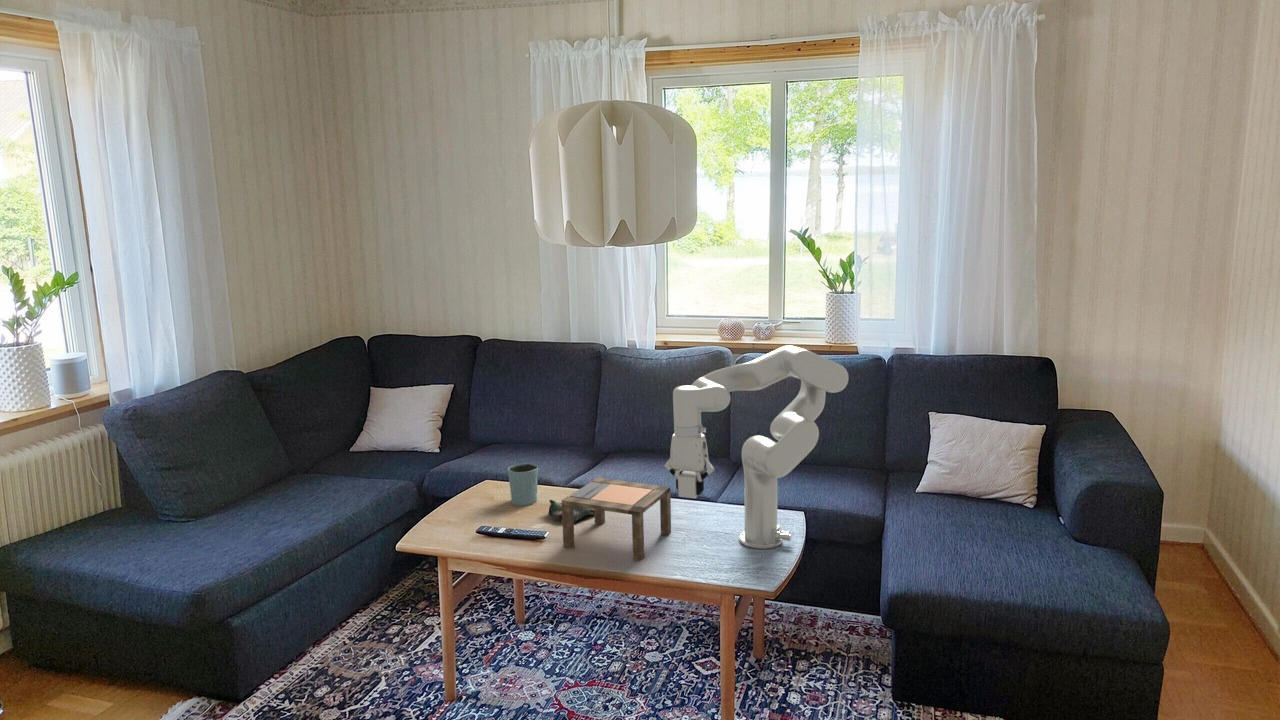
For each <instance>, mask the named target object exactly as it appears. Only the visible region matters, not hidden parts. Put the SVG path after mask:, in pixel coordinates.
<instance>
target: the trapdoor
mask: <svg viewBox="0 0 1280 720" xmlns="http://www.w3.org/2000/svg"><path fill="white" fill-rule="evenodd" d="M652 491H653V490H652V489H644V488H637V487H629V486H622V485H614V484H605V483H597V482H591V481H590V482H589V483H587V484H586V485H584V486H582V487H581V488H579V489H577V490H576V491H575V492H573V493H572V494H570V495H569V497H576V498H583V499H590V500H597V501H604V502H610V503H617V504H624V505H631V506H634V505H635V504H636V503H638V502H639V501H640V500H642V499H643V498H644V497H645V496H647V495H648V494H649V493H651V492H652ZM573 509H575V510H582V511H584V510H585V509H586V508H583V507H577V506H573Z"/></svg>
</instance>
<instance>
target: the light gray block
mask: <svg viewBox="0 0 1280 720" xmlns="http://www.w3.org/2000/svg"><path fill="white" fill-rule="evenodd" d="M696 482H697V476H696V473H695V471H685V470H683V472H682V473H681V474H680V475H679V476H678V490H677V493H678V497H680V498H687V499H688V498H689V499H696V498H698V496H699V495H697V493H696Z"/></svg>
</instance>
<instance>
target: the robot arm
mask: <svg viewBox="0 0 1280 720" xmlns="http://www.w3.org/2000/svg"><path fill="white" fill-rule="evenodd" d="M789 377H792V378H796V379H798V380H800V381H801V382H800V390H799V391H798V393H797V395H796V397H795V398H793V400H792V401H791V402H790V403H789V404H788V405H787V406H786V407H785V408H784V409H783V410H781V412H779V414H778V415H776V417H775V418H774V419H773V420H772V422H771V424H770V428H769V431H770V434H771V435H772V437H773V438H774V439H775V440H776V441H775V440H773V439H771V438H769V437H766V436H764V435H754V436H750V437H749V438H748V439H746V441H745V442H744V443H743V445H742V447H741V448H742V449H741V461H742V467H743V473H744V475H743V476H744V531H742V532H741V533H740V534H739V538H738V540H739V542H740V543H741V544H742V545H743V546H746V547H749V548H752V549H759V550H760V549H761V550H764V549H772V548H776V547H779V546H780V545H781V544H782V543H783V540H784V541H787V542H790V541H791V540H792V534H791V533H790V531H787V530H782V529H781V525H780V524H778V490H779V489H778V488H779V487H778V479H780V478H783V477H785V476H787V475H788V474H789V473H790V472H792V471H793V469H795V468H796V467H797V465H799V464H800V463H801V462H802V461H803V460H804V459H805V458H806V457H807V456H808V455H809V454H810V452H812V450H813V449H814V448H815V446H817V443H818V440H819V438H820V429H819V427H818V425H817V423H816V422H815V421H816V420H817V418H818V417H819V416H820V415H821V414H822V412H823V410H824V408H825V404H826V392H827V393H833V394H835V393H839V392H842V391H843V390H844V389H845V388H846V387H847V385H848V382H849V372H848V371H847V369H846V367H844V365H843V364H840V363H838V362H836V361H833V360H830V359H828V358H826V357H824V356H822V355H819V354H818V353H815V352H812V351H811V350H808V349H805V348H802V347H798V346H794V345H783V346H780V347H779V348H777V349H776V348H775V350H772V351H770V352H768V353H766V354H764V355H762V356H759V357H757V358H755V359H753V360H751V361H748V362H744V363H738V364H735V365H730V366H727V367H724V368H723V367H722V368H720V369H716V370H714V371H711V372H709V373H707V374H705V375H703V376H701V377H699V378H697V379H695V380H694V381H693V383H692V384H691V385H689V384H687V385H679V386H676V387H675V388H674V389H673V391H672V405H673V429H674V433H673V434H672V436H671V443H670V452H669V453H670V455H669V459H668V460H667V461H666V463H665V464H664V466H663V467H664V468H665V469H667V470H668V471H669V473H670V474H671V475H672V476H673V478H674V479H675V488H676V491H678V476H679V475H680V474H681V473H682V472H683V471H694V472H695V473H696V476H697V482H696V493H697V495H698V496H700V495H702V493H703V492H704V490H705V486H704V485H705V483H704V482H705V481H704V480H705V479H706V478H707V477H708V476H710V475H711V474H712V473H714V471H715V470H716V469H715V467H714V465H712V463H711V462H710V459H709V451H708V445H707V439H706V435H705V434H704V433H707V432H706V431H707V428H706V427H704V426H703V424H702V413H703V412H709V413H710V412H712V413H713V412H716V413H717V412H721V411H723V410H725V409H726V408H727V407H728V406H729V404H730V403H731V394H730V393H731V392H737V391H751V392H752V391H760V390H763V389H765V388H767V387H770V386H771V385H773V384H776V383H777V382H780V381H781V380H785V379H787V378H789ZM705 468H706V469H707V470H706V471H704V469H705Z"/></svg>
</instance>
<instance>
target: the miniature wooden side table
mask: <svg viewBox="0 0 1280 720" xmlns="http://www.w3.org/2000/svg"><path fill="white" fill-rule="evenodd" d="M590 482H597V483H605V484H614V485H622V486H629V487H637V488H644V489H652V490H653V491H652V492H651V493H649V494H648V495H647V496H645V497H644V498H643V499H642V500H640V501H639V502H638V503H636V504H635V505H634V506H631V505H624V504H617V503H610V502H604V501H597V500H590V499H583V498H576V497H569V496H570V495H569V496H566V497H565V498H562V499H561V503H562V516H561V518H562V519H561V521H562V523H561V525H562V539H563V540H562V541H563V544H562V545H563V546H562V547H563V548H565V549H572V548H573V547H575V546H576V545H575V544H576V543H575V524H574V517H573V506H577V507H583V508H590V509H594V515H593V516H594V524H595V525H598V526H599V525H601V526H602V525H604V524H605V523H606V513H605V512H611V513H618V514H619V513H620V514H625V515H631V527H632V528H631V531H632V532H631V535H632V560H635V561H640V562H642V560H643V559H644V558H645V534H644V531H645V530H644V529H645V528H644V513H645V512H646V511H647V510H650V508H651V507H652V506H654V505H655V504H656V503H657V502H659V505H660V506H659V510H660V512H659V515H660V517H659V518H660V535H661V536H662V535H663V536H669V535H671V533H672V507H671V506H672V505H671V503H672V502H671V500H672V499H671V487H670V486H664V485H658V484H649V483H641V482H634V481H626V480H620V479H619V480H618V479H610V478H603V477H595V478H593V480H591V481H590Z"/></svg>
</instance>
